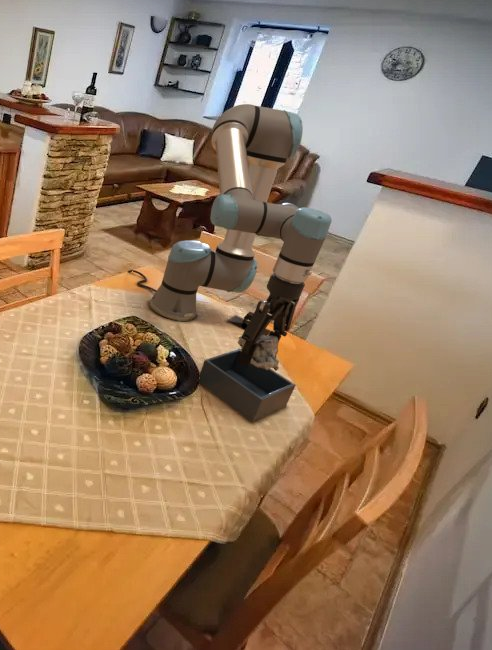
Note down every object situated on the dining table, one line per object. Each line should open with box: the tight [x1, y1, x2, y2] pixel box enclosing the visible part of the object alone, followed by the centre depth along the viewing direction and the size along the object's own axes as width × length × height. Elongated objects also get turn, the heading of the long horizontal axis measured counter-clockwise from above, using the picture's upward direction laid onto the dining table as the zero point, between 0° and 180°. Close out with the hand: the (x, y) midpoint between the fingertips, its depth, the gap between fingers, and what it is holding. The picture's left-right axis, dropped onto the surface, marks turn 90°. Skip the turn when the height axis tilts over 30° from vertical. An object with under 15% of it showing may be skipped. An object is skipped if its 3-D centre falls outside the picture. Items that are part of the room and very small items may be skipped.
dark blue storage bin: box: [198, 348, 296, 423], centre depth 128 cm, size 18×15×7 cm
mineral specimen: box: [237, 335, 280, 372], centre depth 123 cm, size 10×8×10 cm
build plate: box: [227, 311, 271, 336], centre depth 164 cm, size 12×7×5 cm, turn 51°
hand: (255, 359), depth 124 cm, fingers closed on mineral specimen, 9 cm apart
